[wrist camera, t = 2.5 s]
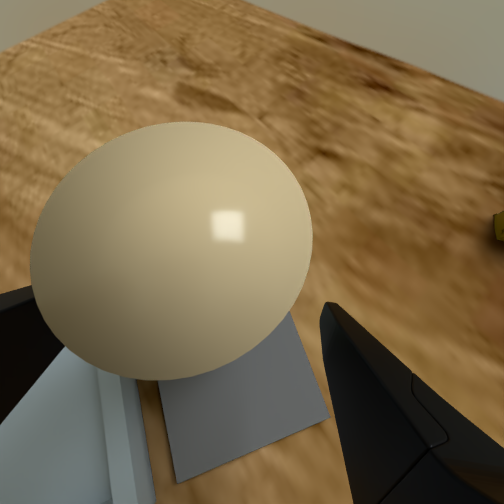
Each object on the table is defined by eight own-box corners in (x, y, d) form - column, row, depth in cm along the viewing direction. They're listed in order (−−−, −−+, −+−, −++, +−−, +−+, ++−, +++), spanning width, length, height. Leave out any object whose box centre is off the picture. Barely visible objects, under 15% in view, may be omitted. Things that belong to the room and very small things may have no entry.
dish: (156, 500, 13) (141, 529, 11) (-92, 609, 12) (-157, 663, 10) (122, 292, 17) (106, 287, 15) (-68, 353, 16) (-111, 356, 14)
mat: (328, 415, 15) (330, 417, 15) (179, 479, 14) (177, 484, 13) (265, 252, 19) (265, 250, 18) (143, 291, 17) (140, 291, 17)
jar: (274, 325, 16) (361, 313, 4) (204, 351, 16) (36, 437, 3) (250, 260, 18) (258, 100, 5) (186, 281, 17) (26, 155, 5)
